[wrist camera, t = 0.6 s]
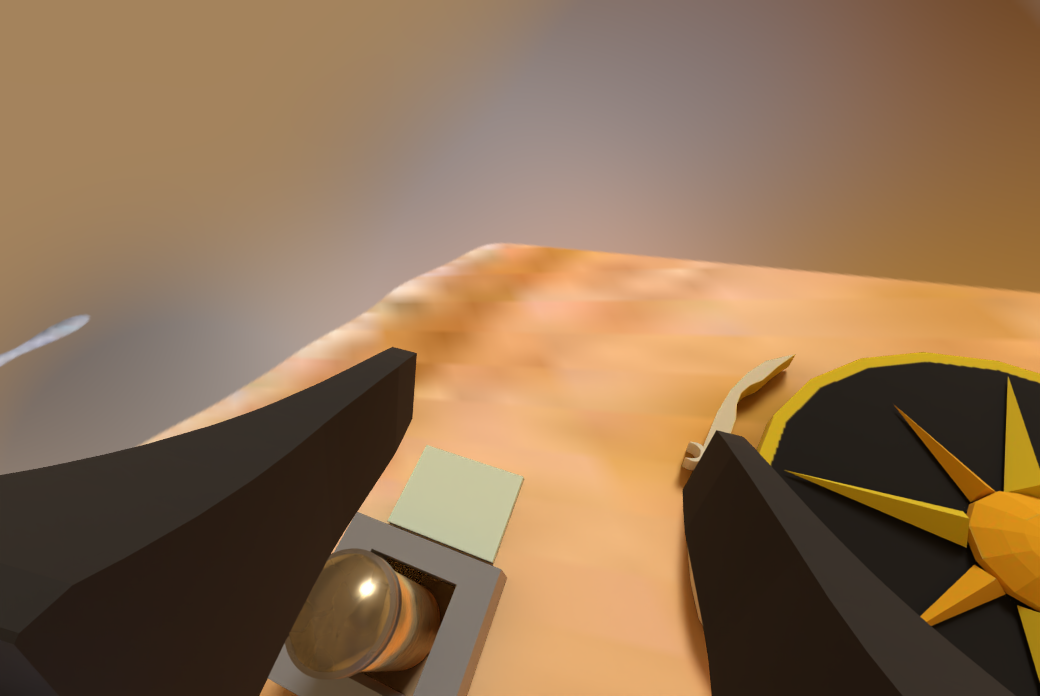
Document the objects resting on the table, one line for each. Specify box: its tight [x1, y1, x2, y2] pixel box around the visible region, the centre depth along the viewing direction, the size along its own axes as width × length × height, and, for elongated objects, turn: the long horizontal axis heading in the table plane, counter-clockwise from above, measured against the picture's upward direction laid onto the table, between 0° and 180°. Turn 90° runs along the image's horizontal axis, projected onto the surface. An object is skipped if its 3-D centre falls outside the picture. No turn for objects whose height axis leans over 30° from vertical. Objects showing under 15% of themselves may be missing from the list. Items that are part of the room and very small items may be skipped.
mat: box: [388, 445, 524, 563], centre depth 27 cm, size 5×7×1 cm
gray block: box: [268, 512, 507, 696], centre depth 22 cm, size 8×9×2 cm
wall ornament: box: [682, 352, 1040, 696], centre depth 20 cm, size 23×5×30 cm
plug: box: [285, 548, 440, 680], centre depth 20 cm, size 4×4×8 cm
